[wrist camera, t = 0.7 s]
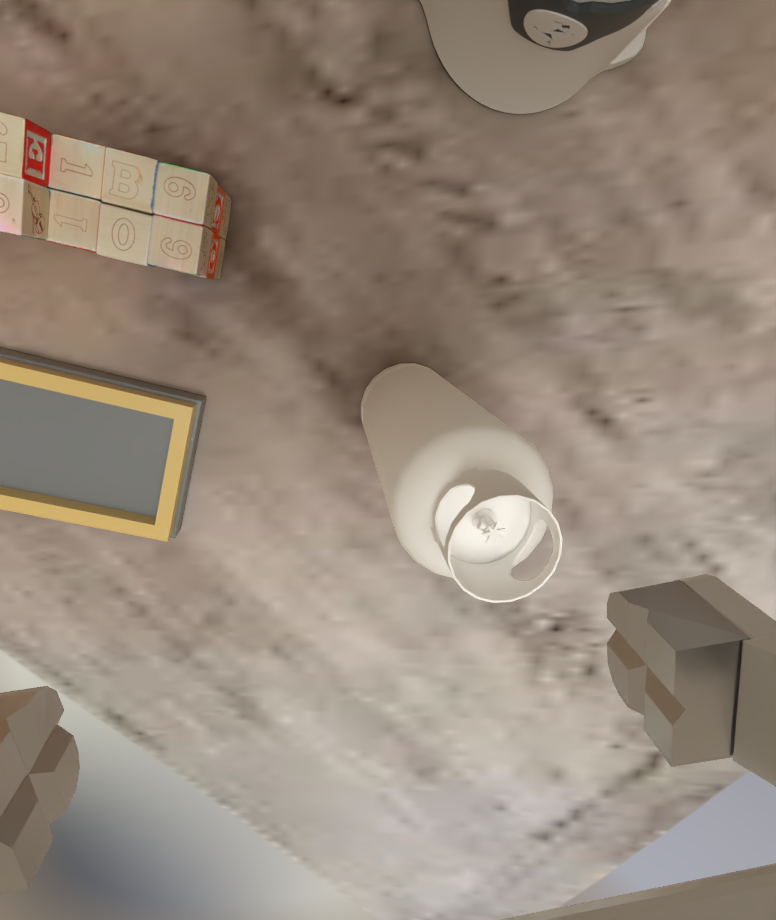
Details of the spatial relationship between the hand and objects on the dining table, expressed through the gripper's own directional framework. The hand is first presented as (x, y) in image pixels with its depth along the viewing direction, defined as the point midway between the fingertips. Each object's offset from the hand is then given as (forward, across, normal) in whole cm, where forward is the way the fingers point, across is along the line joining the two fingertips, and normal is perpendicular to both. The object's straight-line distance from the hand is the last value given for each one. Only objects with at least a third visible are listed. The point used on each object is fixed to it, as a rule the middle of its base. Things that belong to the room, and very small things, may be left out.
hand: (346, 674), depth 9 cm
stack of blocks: (+42, +16, -13) cm, 47 cm away
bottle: (+42, -6, +6) cm, 42 cm away
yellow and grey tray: (+41, +25, +3) cm, 48 cm away
